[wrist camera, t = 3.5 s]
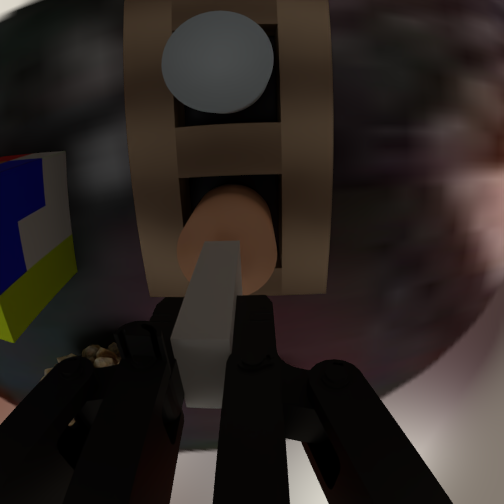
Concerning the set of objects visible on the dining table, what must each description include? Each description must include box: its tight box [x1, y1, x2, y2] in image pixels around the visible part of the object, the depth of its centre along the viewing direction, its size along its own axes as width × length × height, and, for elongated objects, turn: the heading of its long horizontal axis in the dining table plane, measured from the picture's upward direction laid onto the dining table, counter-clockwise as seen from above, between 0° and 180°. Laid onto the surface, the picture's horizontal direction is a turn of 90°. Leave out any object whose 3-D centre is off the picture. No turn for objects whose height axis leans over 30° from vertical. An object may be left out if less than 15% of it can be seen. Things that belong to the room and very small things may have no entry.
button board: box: [123, 0, 333, 297], centre depth 17 cm, size 28×12×3 cm, turn 2°
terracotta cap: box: [177, 184, 277, 295], centre depth 18 cm, size 5×5×5 cm
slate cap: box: [161, 11, 274, 114], centre depth 14 cm, size 5×5×5 cm
